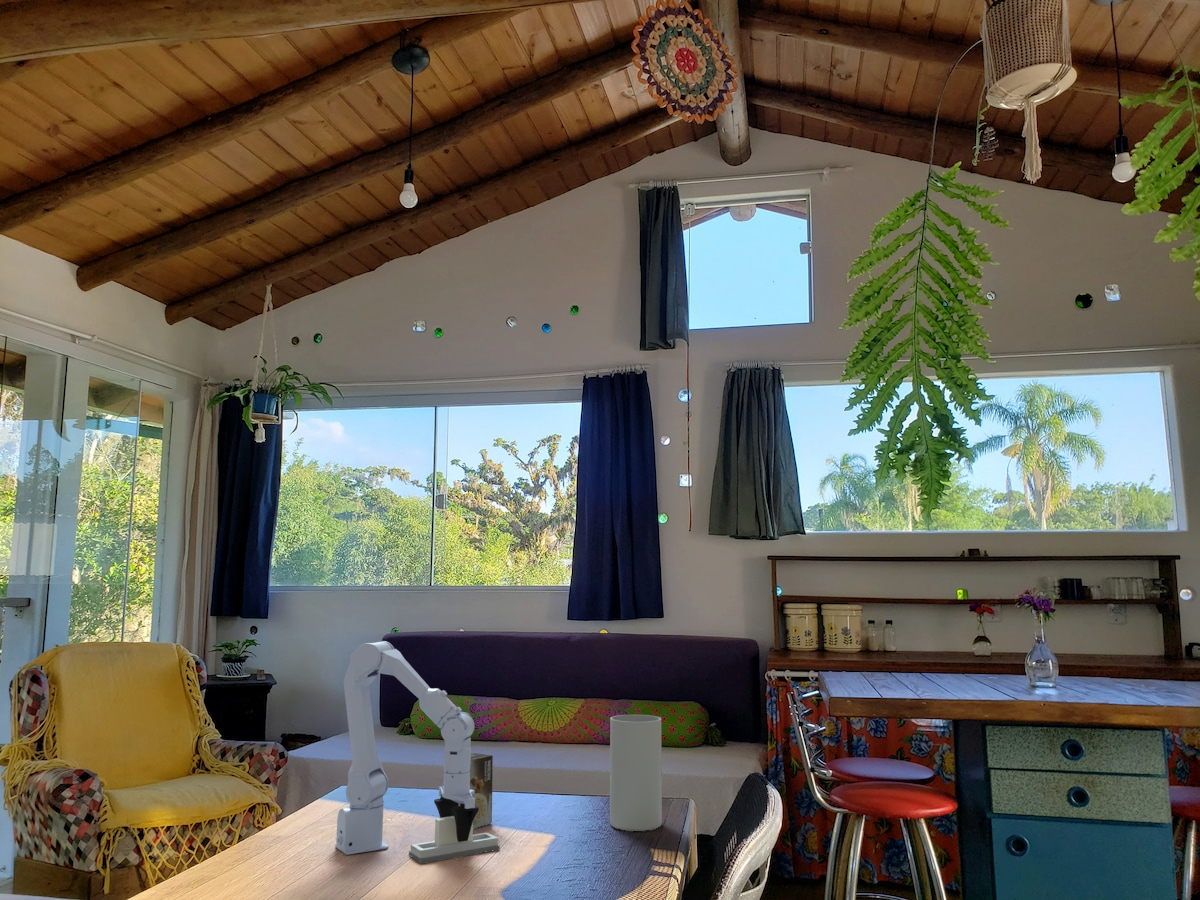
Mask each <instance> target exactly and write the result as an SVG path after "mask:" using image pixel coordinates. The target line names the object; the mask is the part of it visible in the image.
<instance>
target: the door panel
mask: <svg viewBox="0 0 1200 900" xmlns="http://www.w3.org/2000/svg"><path fill="white" fill-rule="evenodd" d="M434 825H435V827H434V841H435V847H437V846H443V845H449V844H455V843H461V842H458V840H457V834H456V823H455V818H454V816H450V817H443V818H440V817H438V818H435V824H434ZM473 835H474V829H473V823H472V826H471V830H470V834H469V837H468V841H473ZM462 842H467V841H462Z"/></svg>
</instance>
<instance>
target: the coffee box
mask: <svg viewBox="0 0 1200 900" xmlns="http://www.w3.org/2000/svg"><path fill="white" fill-rule="evenodd" d="M493 757H494V756H493V755H489V754H485V753H477V752H473V753H471V763H470V789H471V790H474V794H472V796H473V798H475V806H478V807H479V811H478V812H477V814H476V816H475V818H474V820H473V830H475V829H474V828H476V829H478V828H477V827H479V828H481V827H480V826H483V825H486V826H488V825H487V824H489V825H492V824H493V763H494V762H493ZM458 806H460V804H458ZM491 823H492V824H491ZM483 827H484V826H483Z"/></svg>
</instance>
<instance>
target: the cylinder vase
mask: <svg viewBox="0 0 1200 900" xmlns="http://www.w3.org/2000/svg"><path fill="white" fill-rule="evenodd" d="M609 720H610V721H609V722H610V723H609V724H610V725H609V726H610V727H609V728H610V729H609V730H610V731H609V733H610V734H609V735H610V736H609V738H610V739H609V742H610V743H609V745H610V747H609V752H610V753H609V758H610V759H609V823H610V825H611V827H613V828H615V829H617V830H619V829H620V831H624V830H625V831H624V832H633V831H642V832H646V831H645V830H650V831H653V830H652V829H654V830H657V829H659V828H660V827H661V826H662V823H663V816H662V815H663V809H662V808H663V807H662V806H663V805H662V804H663V801H662V800H663V798H662V796H663V794H662V789H663V787H662V785H663V783H662V781H663V779H662V765H663V764H662V758H663V757H662V717H660V716H656V715H650V714H648V715H647V714H620V715H613V716H611V717H610V718H609ZM658 827H659V828H658ZM656 828H657V829H656Z"/></svg>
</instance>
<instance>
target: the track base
mask: <svg viewBox="0 0 1200 900" xmlns="http://www.w3.org/2000/svg"><path fill="white" fill-rule="evenodd" d="M498 844H499V837H497V836H496V835H493V834H490V833H489V832H482V833H475V834H474V833H473V841H467V842H461V843H455V844H449V845H443V846H437V847H435V840H433V841H425V842H419V843H413V844H411V845H410V850H409V851H408V855H409V857H411V856H412V857H411V858H412V859H414V858H415V859H414V860H415V861H417V860H418V862H419V863H420V862H421V863H420V864H427V863H426V862H428V863H433V862H439V861H444V859H445V860H449V858H451V859H455V858H454V857H456V858H460V856H462V857H466V856H465V855H468V856H471V855H470V854H473V855H477V854H476V853H479V854H481V853H480V852H485V851H491V852H493V851H492V850H496V851H499V850H498V849H500V845H498ZM485 853H486V852H485Z"/></svg>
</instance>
